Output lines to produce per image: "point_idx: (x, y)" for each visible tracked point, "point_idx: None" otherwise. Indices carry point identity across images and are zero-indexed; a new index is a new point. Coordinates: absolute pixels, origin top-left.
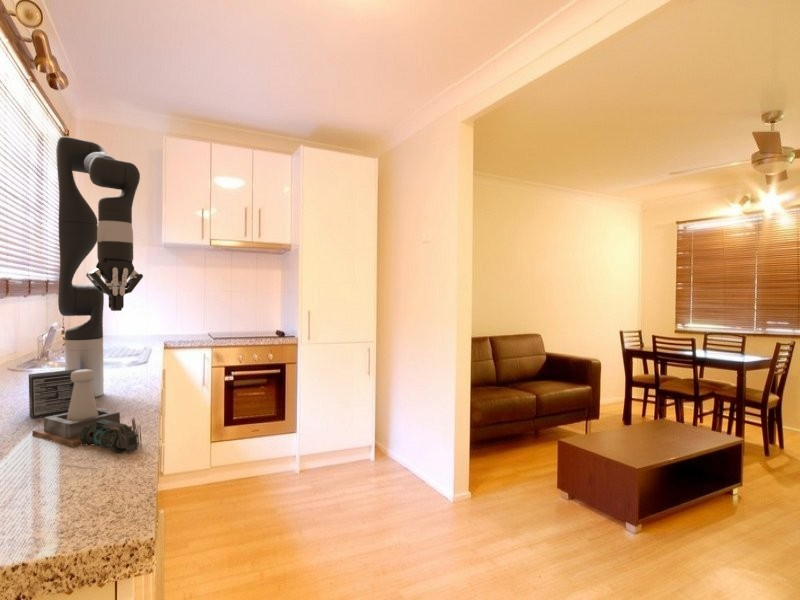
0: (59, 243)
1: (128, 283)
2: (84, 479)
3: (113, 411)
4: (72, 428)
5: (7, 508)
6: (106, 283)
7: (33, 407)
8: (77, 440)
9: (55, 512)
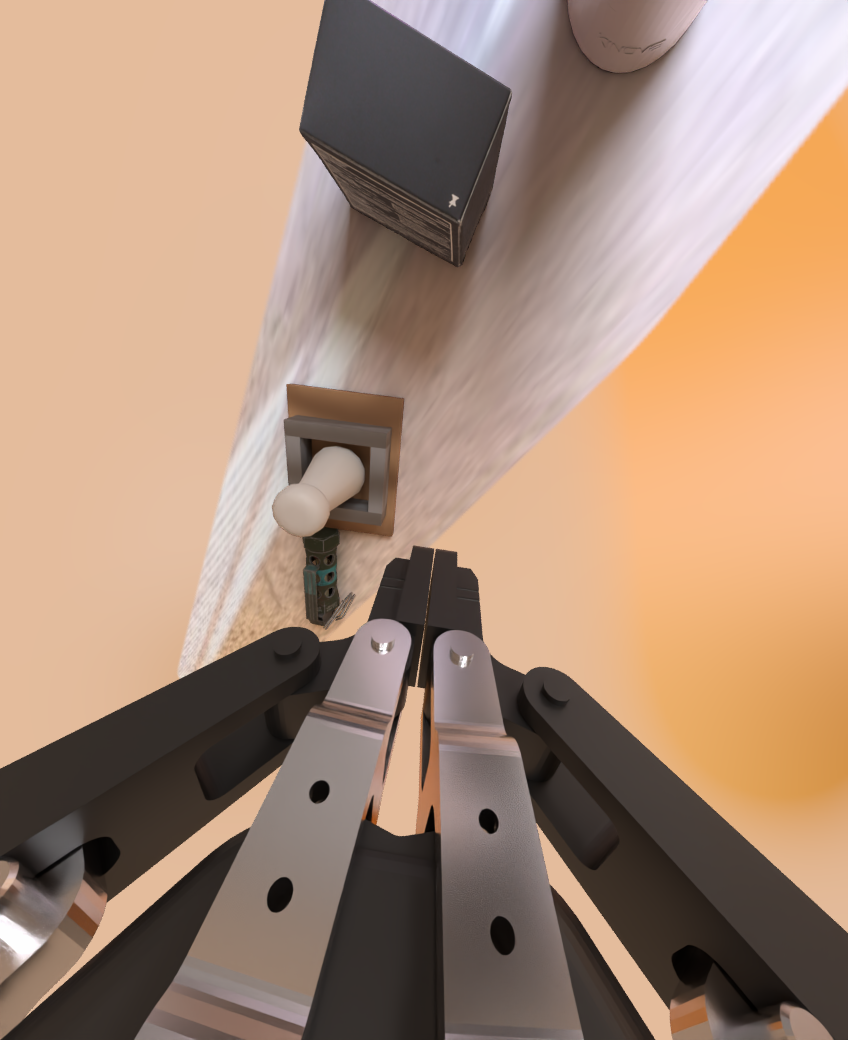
0: None
1: (620, 839)
2: (259, 619)
3: (380, 508)
4: None
5: (192, 613)
6: (301, 755)
7: (344, 194)
8: None
9: (216, 650)
